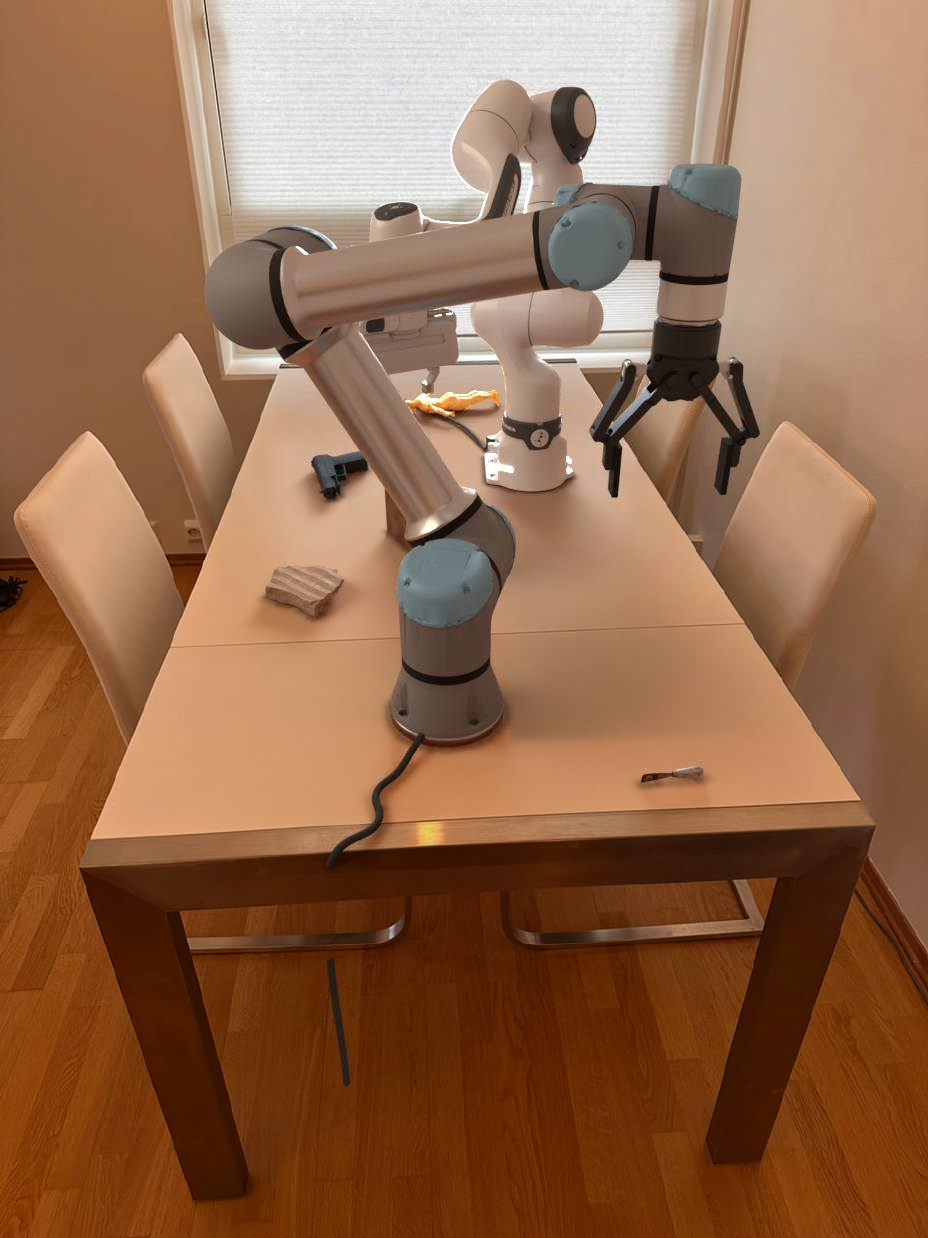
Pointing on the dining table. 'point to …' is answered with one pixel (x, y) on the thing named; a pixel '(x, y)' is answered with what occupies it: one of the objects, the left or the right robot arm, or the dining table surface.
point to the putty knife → (674, 774)
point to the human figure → (450, 402)
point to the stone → (304, 587)
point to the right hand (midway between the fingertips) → (403, 397)
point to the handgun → (336, 470)
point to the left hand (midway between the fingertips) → (666, 492)
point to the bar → (395, 521)
